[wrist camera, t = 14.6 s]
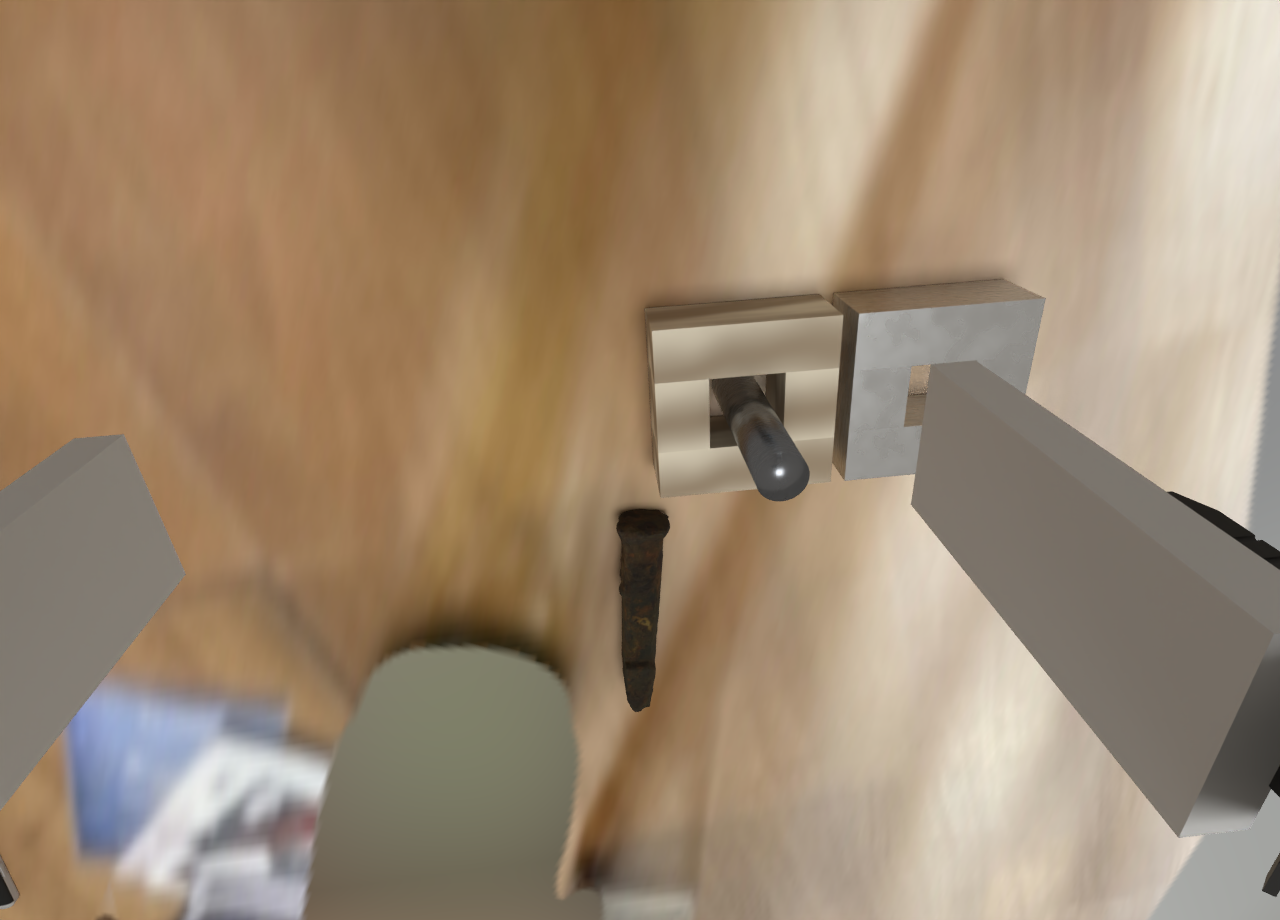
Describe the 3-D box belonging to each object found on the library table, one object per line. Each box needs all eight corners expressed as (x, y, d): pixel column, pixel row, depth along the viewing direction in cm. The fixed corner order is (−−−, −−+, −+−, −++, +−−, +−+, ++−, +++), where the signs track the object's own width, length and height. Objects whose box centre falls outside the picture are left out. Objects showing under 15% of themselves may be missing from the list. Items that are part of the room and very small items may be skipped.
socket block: (833, 293, 49) (859, 313, 45) (1003, 279, 50) (1045, 298, 45) (822, 448, 55) (844, 480, 50) (975, 434, 55) (1010, 465, 51)
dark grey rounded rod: (711, 365, 51) (756, 455, 38) (753, 361, 51) (811, 451, 39) (712, 404, 52) (755, 503, 40) (752, 400, 52) (808, 498, 40)
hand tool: (616, 504, 56) (618, 537, 52) (667, 505, 56) (673, 538, 52) (604, 683, 65) (605, 724, 60) (648, 683, 65) (652, 724, 61)
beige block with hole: (644, 308, 48) (651, 330, 44) (818, 294, 49) (843, 315, 45) (653, 464, 54) (660, 497, 50) (809, 449, 55) (830, 481, 50)
